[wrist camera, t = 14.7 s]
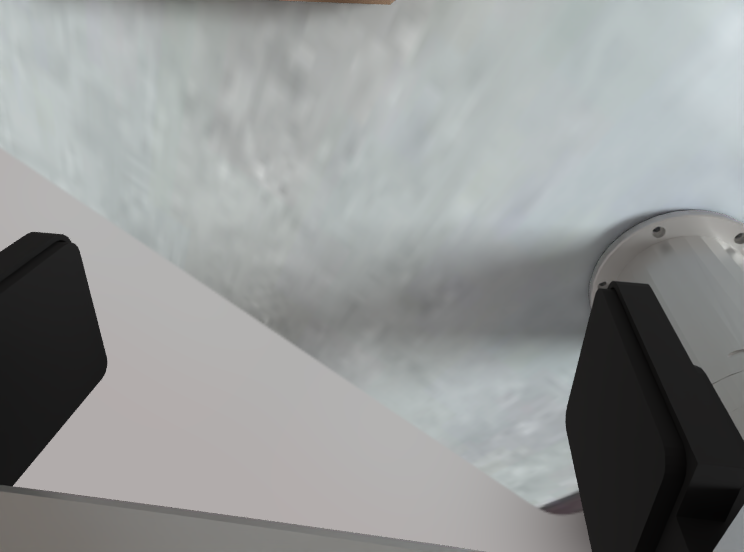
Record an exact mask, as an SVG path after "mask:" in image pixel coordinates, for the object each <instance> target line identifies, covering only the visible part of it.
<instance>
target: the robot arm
mask: <svg viewBox="0 0 744 552" xmlns="http://www.w3.org/2000/svg"><path fill="white" fill-rule="evenodd" d="M656 227H658V229H656V230H654V229H655V228H656ZM736 235H737V236H736ZM601 282H603V283H601ZM589 301H590V307H591V313H590V317H589V321H588V325H587V329H586V333H585V337H584V341H583V345H582V349H581V353H580V357H579V361H578V365H577V369H576V373H575V377H574V381H573V385H572V389H571V393H570V397H569V401H568V405H567V410H566V431H567V436H568V440H569V445H570V450H571V454H572V459H573V464H574V469H575V473H576V478H577V483H578V488H579V492H580V497H581V502H582V506H583V511H584V516H585V521H586V525H587V529H588V535H589V540H590V544H591V549H592V552H744V223H742V222H740V221H738V220H736V219H734V218H732V217H730V216H728V215H724V214H720V213H716V212H712V211H702V210H686V211H675V212H671V213H667V214H663V215H659V216H655V217H653V218H651V219H648V220H646V221H644V222H641V223H639V224H637V225H636V226H634V227H633V228H631V229H629V230H628V231H626V232H625V233H623V234H622V235H621V236H620V237H619V238H618V239H616V240H615V241H614V242H613V243H612V244H611V245H610V246H609V247H608V249H607V250H606V251H605V252H604V253H603V255H602V256H601V257H600V259H599V261H598V263H597V265H596V267H595V268H594V271H593V274H592V277H591V281H590V287H589ZM106 368H107V356H106V353H105V349H104V345H103V341H102V337H101V333H100V329H99V325H98V321H97V317H96V313H95V309H94V306H93V302H92V298H91V294H90V290H89V286H88V282H87V278H86V275H85V270H84V266H83V262H82V258H81V255H80V251H79V249H78V247H77V246H76V245H75V244H74V243H71V241H70V239H69V238H68V237H67V236H65V235H63V234H52V233H40V232H31V233H28V234H26V235H25V236H23V237H22V238H20V239H19V240H17V241H16V242H14V243H13V244H11V245H10V246H8V247H7V248H5V249H4V250H2V251H1V252H0V552H484V551H477V550H471V549H464V548H458V547H452V546H445V545H438V544H431V543H423V542H417V541H410V540H403V539H395V538H388V537H381V536H374V535H367V534H360V533H353V532H346V531H339V530H331V529H324V528H317V527H310V526H302V525H296V524H288V523H282V522H274V521H267V520H260V519H252V518H245V517H238V516H230V515H223V514H216V513H208V512H201V511H194V510H186V509H179V508H172V507H164V506H157V505H149V504H141V503H134V502H127V501H119V500H111V499H104V498H97V497H89V496H81V495H74V494H67V493H59V492H52V491H43V490H36V489H28V488H20V487H13V485H14V484H15V482H16V481H17V480H18V479H19V478H20V476H21V475H22V474H23V473H24V472H25V471H26V469H27V468H28V467H29V466H30V465H31V463H32V462H33V461H34V460H35V458H36V457H37V456H38V455H39V454H40V452H41V451H42V450H43V449H44V448H45V446H46V445H47V444H48V443H49V442H50V441H51V439H52V438H53V437H54V436H55V434H56V433H57V432H58V431H59V430H60V428H61V427H62V426H63V425H64V424H65V422H66V421H67V420H68V419H69V418H70V416H71V415H72V414H73V413H74V412H75V410H76V409H77V408H78V407H79V406H80V404H81V403H82V402H83V401H84V399H85V398H86V397H87V396H88V395H89V393H90V392H91V391H92V390H93V389H94V388H95V386H96V385H97V384H98V383H99V382H100V380H101V379H102V378H103V376H104V374H105V372H106Z"/></svg>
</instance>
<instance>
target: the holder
mask: <svg viewBox="0 0 744 552" xmlns="http://www.w3.org/2000/svg"><path fill="white" fill-rule="evenodd" d="M281 1H308V2H334V3H361V4H388V5H390V4H391V3H393V2H394V1H395V0H281Z"/></svg>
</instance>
